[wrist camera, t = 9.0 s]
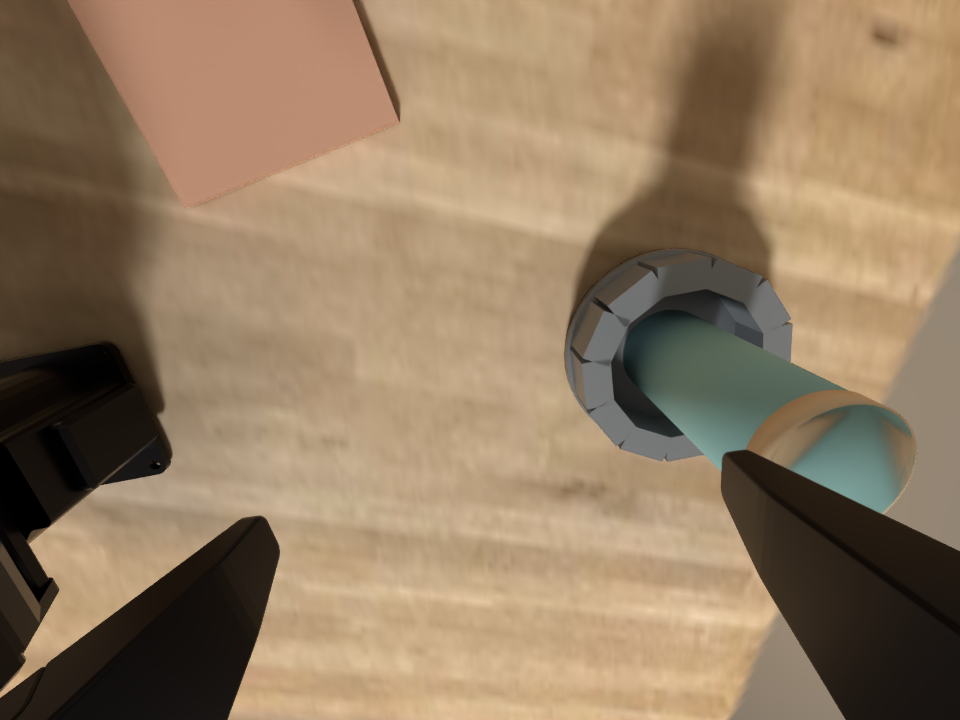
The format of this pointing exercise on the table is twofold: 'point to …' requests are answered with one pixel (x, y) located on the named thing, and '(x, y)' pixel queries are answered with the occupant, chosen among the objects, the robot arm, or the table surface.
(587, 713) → the table surface
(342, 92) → the coaster
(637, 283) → the holder
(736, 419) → the peg
